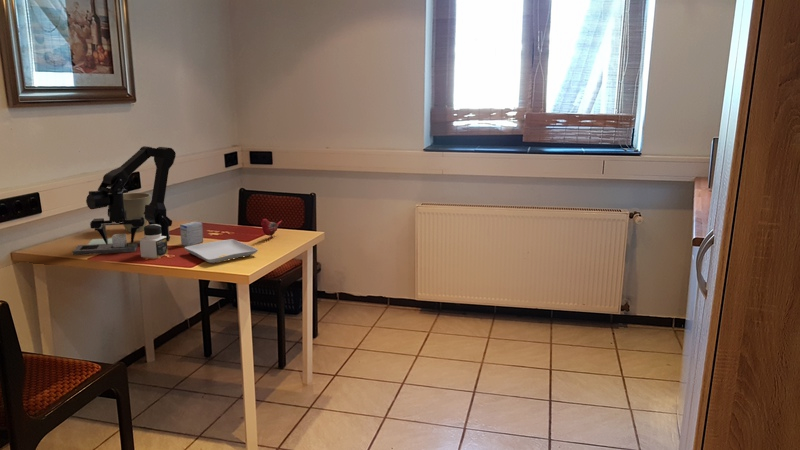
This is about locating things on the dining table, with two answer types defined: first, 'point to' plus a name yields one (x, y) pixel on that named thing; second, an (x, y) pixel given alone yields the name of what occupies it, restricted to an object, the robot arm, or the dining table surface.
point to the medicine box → (191, 233)
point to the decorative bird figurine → (269, 227)
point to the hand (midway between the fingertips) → (119, 243)
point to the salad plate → (221, 250)
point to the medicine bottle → (153, 242)
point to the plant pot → (135, 207)
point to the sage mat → (100, 241)
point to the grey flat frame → (103, 249)
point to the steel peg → (119, 241)
